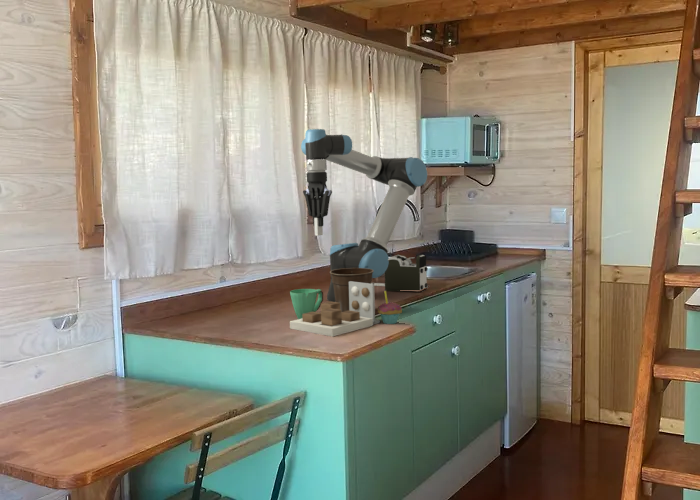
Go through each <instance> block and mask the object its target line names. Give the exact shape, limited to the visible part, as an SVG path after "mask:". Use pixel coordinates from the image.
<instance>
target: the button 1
mask: <svg viewBox="0 0 700 500" xmlns="http://www.w3.org/2000/svg"><path fill="white" fill-rule="evenodd" d="M302 318H303V322H309V323H315V322H319V321H321V312H317V311H316V312H309V313H304V314H302Z"/></svg>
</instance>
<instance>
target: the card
mask: <svg viewBox="0 0 700 500" xmlns="http://www.w3.org/2000/svg"><path fill="white" fill-rule="evenodd" d="M375 300H376V299H375V286H374V284H369V283H361V282H352V281H350V282H349V310H350V311H356V312H360V317H366V318H373V325H377V324H380V323H381V319H376V304H375V303H376V302H375Z"/></svg>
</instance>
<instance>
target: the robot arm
mask: <svg viewBox="0 0 700 500" xmlns="http://www.w3.org/2000/svg"><path fill="white" fill-rule="evenodd" d="M326 132H327V131H326V130H325V129H323V128H322V129H321V128H312V129H307V130H306V131H305V135H304V136H305V137H304V139H303V140H302V141H301V145H300V148H301V152H302V153H303V154H304V156H305V159H306V160H305V164H306V166H305V167H306V182H307V183H308V185H307V189H305V190H303V191H302V193H303V195H304V199H305V202H306V208H307V213H308V216H310V217H312V218H313V219H312V220H313V227H314V236H316V237H317V236H323V234H324V233H323V227H324V217H327V216H328V214H329V207H330V201H331V195H332V193H333V191H332V190H331V189H329V188H328V186H327V181H328V173H327V172H326V171H327V170H328V167H327V166H328V165H327V161H328V162H330V163H333V164H336V165H339V166H342V167H345V168H347V169H350V170H352V171H355V172H358V173H361V174H364V175H365V176H366V178H368V179H370V180H374V181H375V182H378V183H381V184H383V185H387V186H389V189H388V190H387V193H386V194H385V197H384V199H383V201H382V204H381V206H380V208H379V210H378V212H377V215H376V217H375V219H374V221H373V223H372V225H371V227H370V229H369V232H368V233H367V236H366V237H364V238H362V239H361V240H360V242H359V243H358V242H351V243H343V244H341V243H340V244H333V245H332V246H330V250H329V266H330V267H329V268H330V271H332V270H335V269H342V268H368V269H372V270H374V272H373V273H372V279H378V278H379V277H382V276H383V275H385V271H386V270H387V267H388V264H389V261H388V259H389V258H390V257H389V255H388V252H389V250H388V247H387V246H388V244H389V242H390V238H391V237H392V234H393V233H394V230H395V228H396V226H397V224H398V221H399V219H400V218H401V215H402V212H403V210H404V207H405V206H406V203H407V201H408V199H409V197H410V196H412V195H414V194H415V192H416V190H417V188H418V187H421V186H424V185H425V184H426V182H427V179H428V170H427V166H426V164H425V162H424V161H423V160H422V159H421V158H418V157H413V156H409V157H394V158H393V157H392V158H391V157H390V158H388V157H386V158H385V157H379V156H376V155H373V156H370V155H368V154H365V153H362V152H359V151H356V150H353V140H352V139H351V137H350V136H349V135H346V134H326ZM326 301H327V302H335V294H334V286H333V283H332V277H331V276H330V283H329V287H328V292H327V293H326Z"/></svg>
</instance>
